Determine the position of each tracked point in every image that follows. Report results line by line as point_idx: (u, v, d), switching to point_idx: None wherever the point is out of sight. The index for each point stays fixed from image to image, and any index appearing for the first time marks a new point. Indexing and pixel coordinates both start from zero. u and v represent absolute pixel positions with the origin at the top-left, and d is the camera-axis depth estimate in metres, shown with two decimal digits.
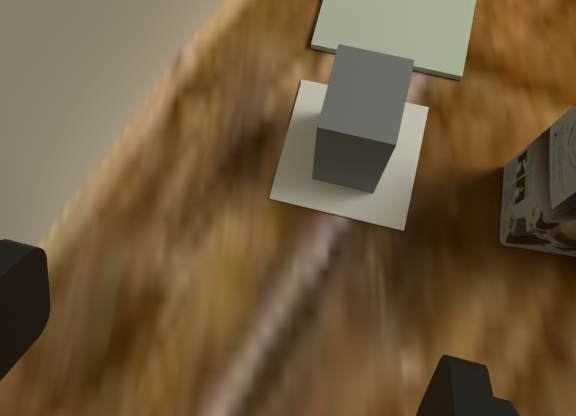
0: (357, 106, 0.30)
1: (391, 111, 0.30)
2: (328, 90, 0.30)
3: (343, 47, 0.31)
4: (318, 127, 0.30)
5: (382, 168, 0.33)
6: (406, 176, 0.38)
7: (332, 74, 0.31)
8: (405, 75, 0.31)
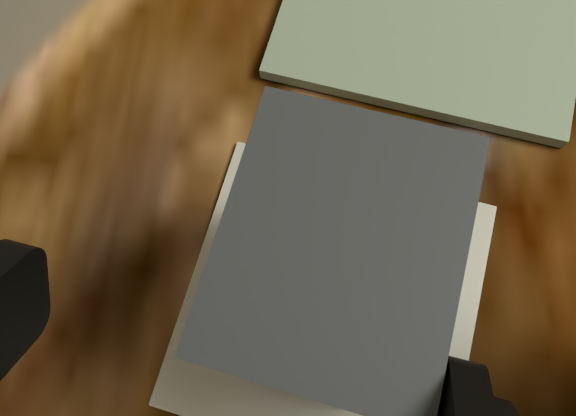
0: (308, 288, 0.09)
1: (416, 310, 0.09)
2: (222, 231, 0.10)
3: (278, 96, 0.11)
4: (179, 357, 0.09)
5: None
6: None
7: (239, 179, 0.10)
8: (463, 185, 0.10)
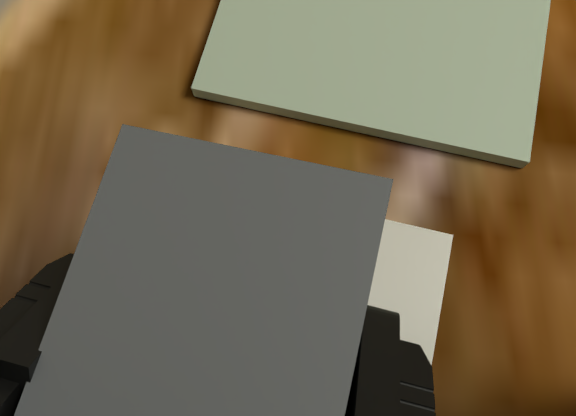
0: (162, 382, 0.07)
1: (294, 409, 0.07)
2: (60, 310, 0.08)
3: (136, 137, 0.09)
4: None
5: None
6: None
7: (84, 243, 0.08)
8: (357, 242, 0.08)
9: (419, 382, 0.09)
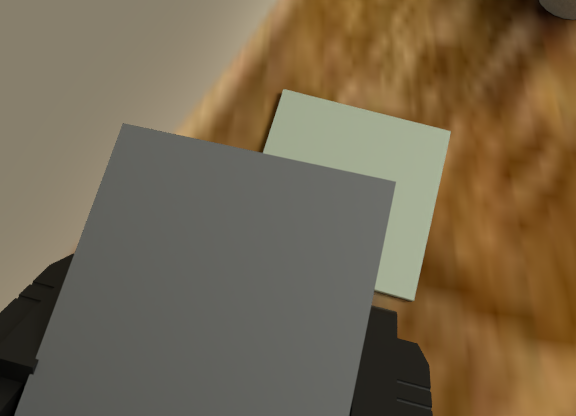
0: (164, 385, 0.07)
1: (298, 411, 0.07)
2: (60, 311, 0.08)
3: (137, 136, 0.09)
4: None
5: None
6: None
7: (84, 244, 0.08)
8: (361, 244, 0.08)
9: (416, 380, 0.09)
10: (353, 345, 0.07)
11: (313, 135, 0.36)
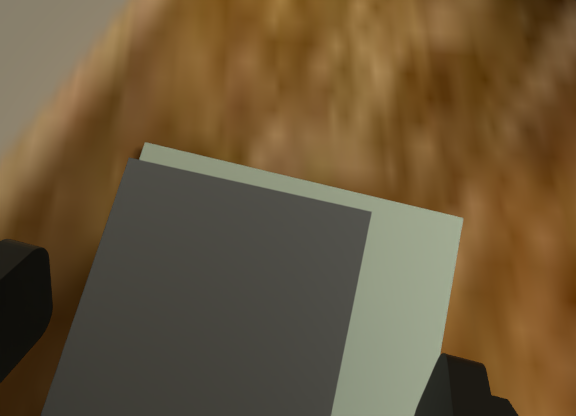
0: (170, 392, 0.09)
1: (288, 413, 0.08)
2: (77, 328, 0.09)
3: (142, 170, 0.10)
4: None
5: None
6: None
7: (97, 267, 0.09)
8: (341, 268, 0.09)
9: None
10: (334, 355, 0.09)
11: None
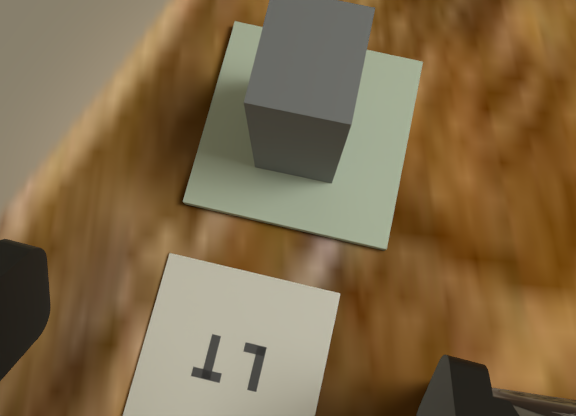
0: (298, 73, 0.22)
1: (344, 79, 0.22)
2: (259, 51, 0.22)
3: None
4: (245, 103, 0.22)
5: (338, 154, 0.25)
6: (307, 399, 0.28)
7: (264, 29, 0.23)
8: (363, 28, 0.23)
9: None
10: (361, 59, 0.22)
11: None
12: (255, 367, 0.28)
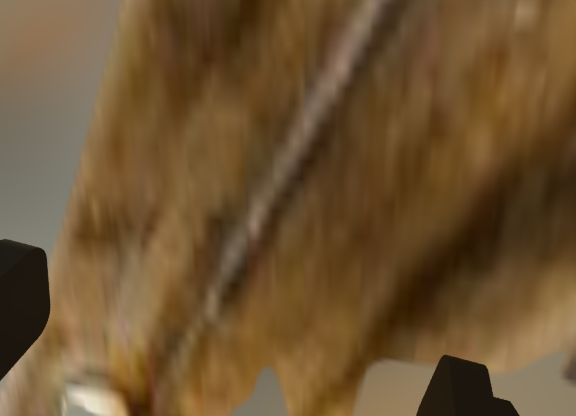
0: None
1: None
2: None
3: None
4: None
5: None
6: None
7: None
8: None
9: None
10: None
11: None
12: None
